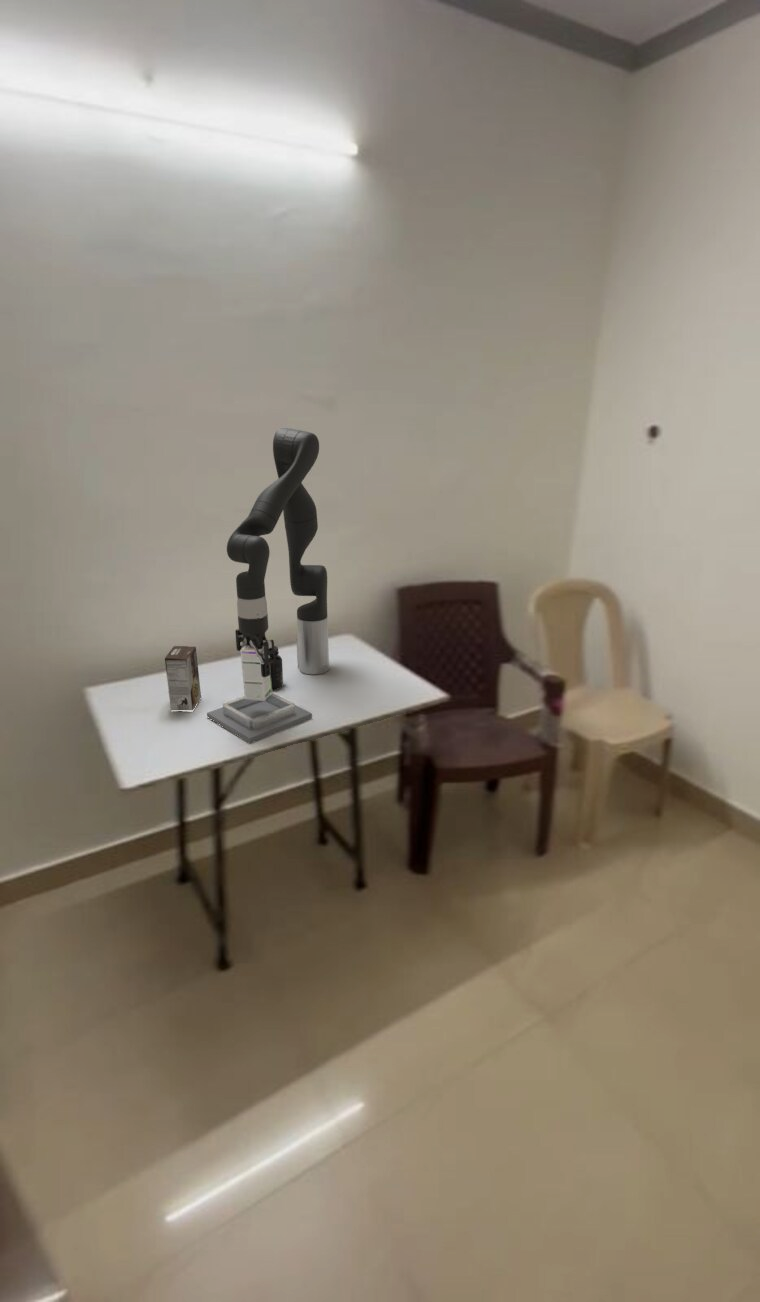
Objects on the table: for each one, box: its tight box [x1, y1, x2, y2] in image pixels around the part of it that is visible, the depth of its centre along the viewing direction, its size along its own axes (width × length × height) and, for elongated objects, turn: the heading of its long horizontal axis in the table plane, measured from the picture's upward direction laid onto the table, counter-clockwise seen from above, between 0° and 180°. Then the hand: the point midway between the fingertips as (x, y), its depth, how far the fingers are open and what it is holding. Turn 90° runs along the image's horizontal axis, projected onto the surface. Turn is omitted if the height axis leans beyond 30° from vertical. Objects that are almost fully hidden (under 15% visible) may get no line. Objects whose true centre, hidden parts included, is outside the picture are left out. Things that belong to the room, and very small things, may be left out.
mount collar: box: [222, 692, 296, 730], centre depth 195 cm, size 14×14×2 cm
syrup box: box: [239, 645, 273, 701], centre depth 191 cm, size 6×6×14 cm
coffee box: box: [164, 645, 202, 711], centre depth 200 cm, size 9×6×16 cm
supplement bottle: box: [269, 645, 284, 691], centre depth 213 cm, size 7×7×12 cm
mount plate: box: [206, 700, 313, 744], centre depth 196 cm, size 20×20×2 cm
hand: (256, 671), depth 191 cm, fingers closed on syrup box, 7 cm apart
